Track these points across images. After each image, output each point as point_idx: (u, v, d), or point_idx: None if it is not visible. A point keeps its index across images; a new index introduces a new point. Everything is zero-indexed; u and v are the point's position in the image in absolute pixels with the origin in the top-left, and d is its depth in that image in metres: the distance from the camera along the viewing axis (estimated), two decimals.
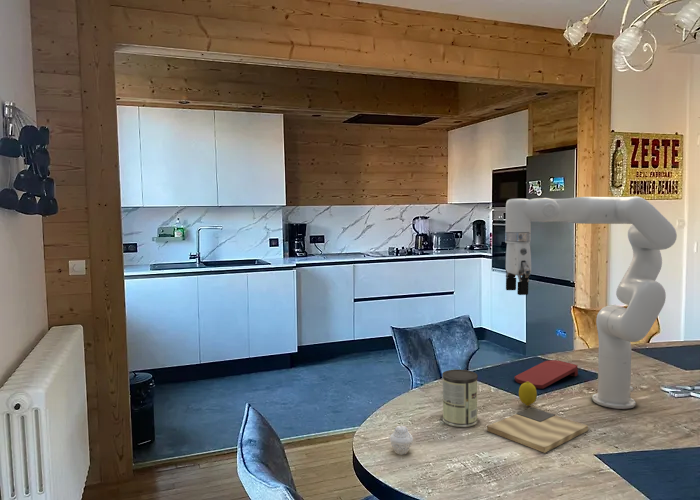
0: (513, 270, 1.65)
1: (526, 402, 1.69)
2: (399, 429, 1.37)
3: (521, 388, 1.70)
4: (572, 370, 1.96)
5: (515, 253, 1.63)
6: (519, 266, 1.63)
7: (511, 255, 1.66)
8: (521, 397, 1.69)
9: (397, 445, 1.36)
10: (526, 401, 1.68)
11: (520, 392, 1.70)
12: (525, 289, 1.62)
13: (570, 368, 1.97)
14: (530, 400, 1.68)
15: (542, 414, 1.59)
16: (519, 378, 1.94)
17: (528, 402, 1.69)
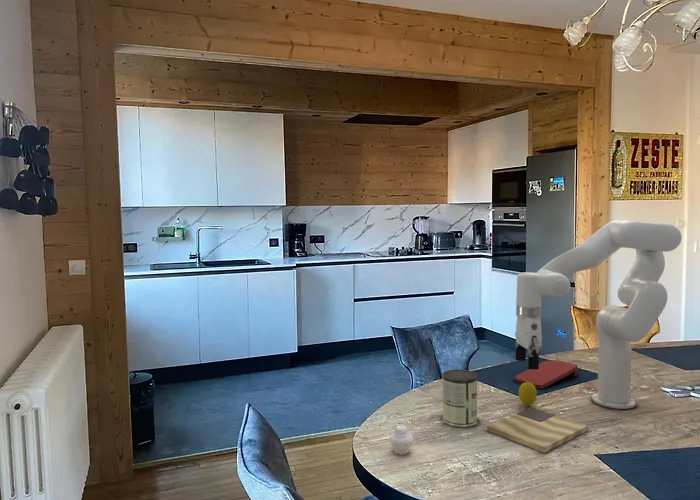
0: (523, 344, 1.67)
1: (526, 402, 1.69)
2: (399, 429, 1.37)
3: (521, 388, 1.70)
4: (572, 370, 1.96)
5: (526, 327, 1.65)
6: (530, 341, 1.64)
7: (522, 329, 1.68)
8: (521, 397, 1.69)
9: (397, 445, 1.36)
10: (526, 401, 1.68)
11: (520, 392, 1.70)
12: (535, 364, 1.64)
13: (570, 368, 1.97)
14: (530, 400, 1.68)
15: (542, 414, 1.59)
16: (519, 378, 1.94)
17: (528, 402, 1.69)
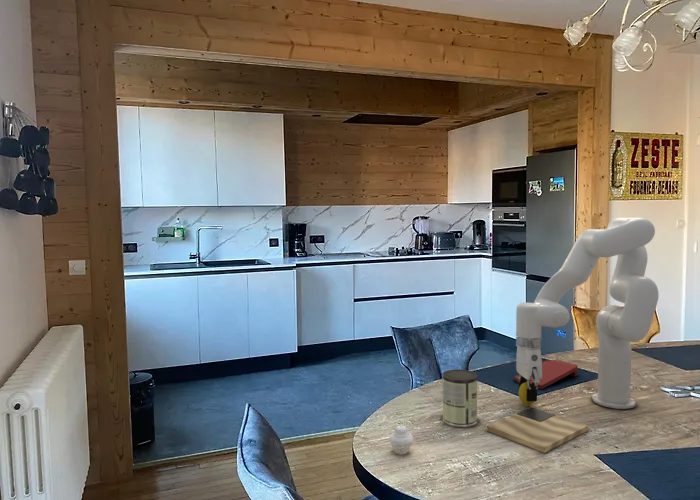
0: (524, 375, 1.68)
1: (526, 402, 1.69)
2: (399, 429, 1.37)
3: (521, 388, 1.70)
4: (572, 370, 1.96)
5: (526, 359, 1.66)
6: (530, 372, 1.65)
7: (522, 359, 1.68)
8: (521, 397, 1.69)
9: (397, 445, 1.36)
10: (526, 401, 1.68)
11: (520, 392, 1.70)
12: (534, 396, 1.66)
13: (570, 368, 1.97)
14: None
15: (542, 414, 1.59)
16: None
17: (528, 402, 1.69)
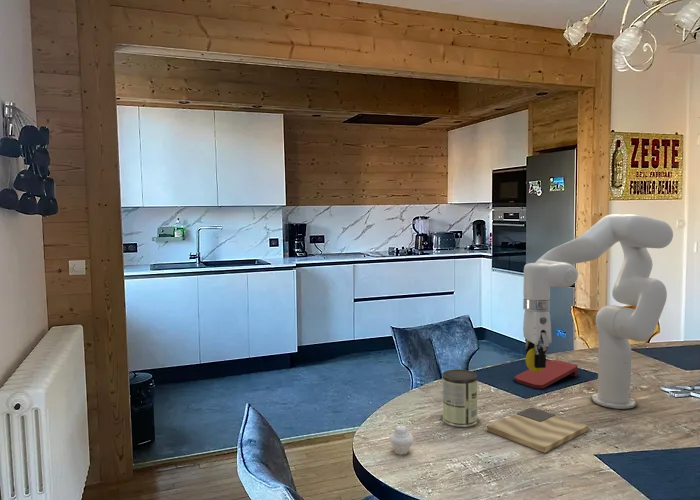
0: (532, 340, 1.57)
1: (534, 369, 1.58)
2: (399, 429, 1.37)
3: (528, 354, 1.59)
4: (572, 370, 1.96)
5: (534, 321, 1.55)
6: (538, 336, 1.54)
7: (530, 323, 1.57)
8: (528, 364, 1.59)
9: (397, 445, 1.36)
10: (534, 367, 1.58)
11: (527, 358, 1.59)
12: (542, 362, 1.56)
13: (570, 368, 1.97)
14: None
15: (542, 414, 1.59)
16: (519, 378, 1.94)
17: (536, 369, 1.58)
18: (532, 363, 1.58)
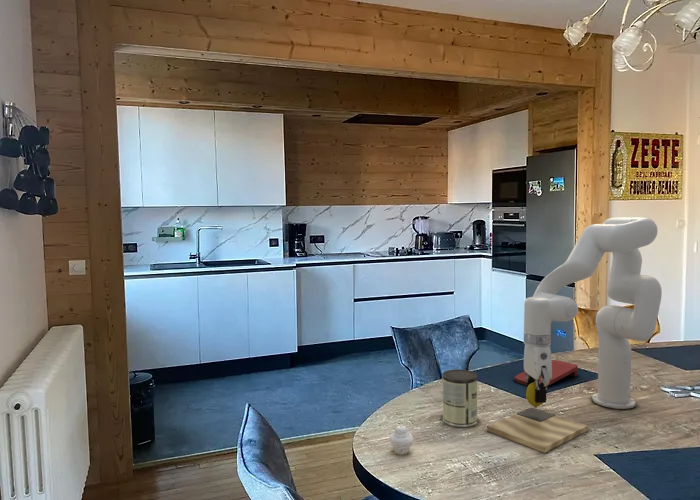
0: (532, 374, 1.56)
1: (534, 403, 1.57)
2: (399, 429, 1.37)
3: (529, 388, 1.58)
4: (572, 370, 1.96)
5: (535, 357, 1.54)
6: (539, 371, 1.53)
7: (530, 358, 1.57)
8: (529, 398, 1.58)
9: (397, 445, 1.36)
10: (534, 402, 1.57)
11: (528, 393, 1.58)
12: (543, 397, 1.55)
13: (570, 368, 1.97)
14: None
15: (542, 414, 1.59)
16: (519, 378, 1.94)
17: (536, 403, 1.57)
18: (532, 398, 1.57)
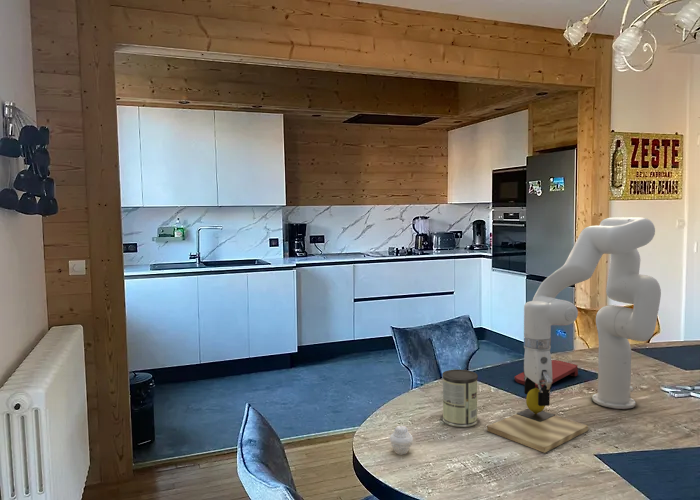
0: (533, 379, 1.56)
1: (534, 410, 1.57)
2: (399, 429, 1.37)
3: (529, 395, 1.58)
4: (572, 370, 1.96)
5: (535, 361, 1.54)
6: (539, 376, 1.54)
7: (530, 362, 1.57)
8: (529, 405, 1.58)
9: (397, 445, 1.36)
10: (534, 409, 1.57)
11: (528, 399, 1.58)
12: (546, 400, 1.53)
13: (570, 368, 1.97)
14: (539, 408, 1.57)
15: (542, 414, 1.59)
16: (519, 378, 1.94)
17: (536, 410, 1.57)
18: (533, 404, 1.57)
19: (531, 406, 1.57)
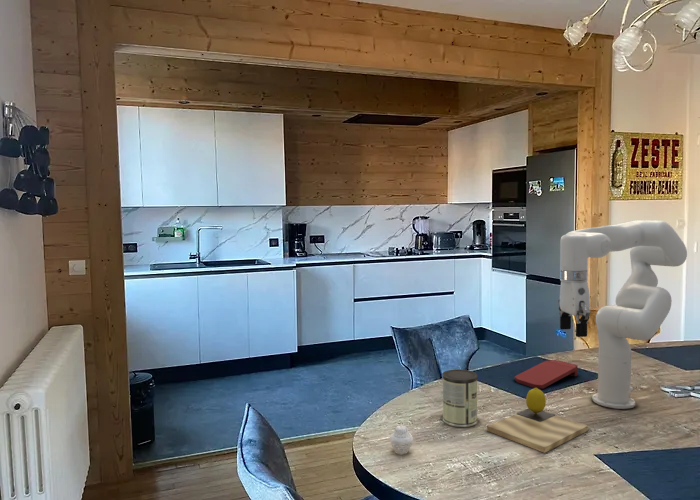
0: (570, 311, 1.56)
1: (534, 410, 1.57)
2: (399, 429, 1.37)
3: (529, 395, 1.58)
4: (572, 370, 1.96)
5: (573, 292, 1.54)
6: (577, 307, 1.54)
7: (567, 294, 1.57)
8: (529, 405, 1.58)
9: (397, 445, 1.36)
10: (534, 409, 1.57)
11: (528, 399, 1.58)
12: (584, 331, 1.54)
13: (570, 368, 1.97)
14: (539, 408, 1.57)
15: (542, 414, 1.59)
16: (519, 378, 1.94)
17: (536, 410, 1.57)
18: (533, 404, 1.57)
19: (531, 406, 1.57)
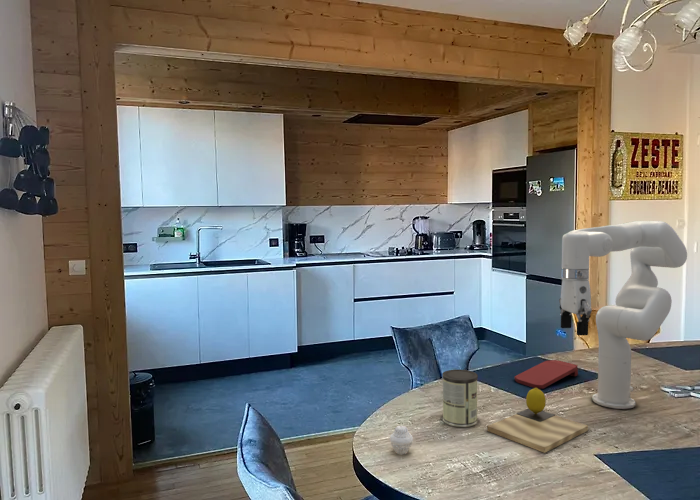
0: (571, 309, 1.56)
1: (534, 410, 1.57)
2: (399, 429, 1.37)
3: (529, 395, 1.58)
4: (572, 370, 1.96)
5: (574, 291, 1.54)
6: (578, 305, 1.54)
7: (569, 293, 1.57)
8: (529, 405, 1.58)
9: (397, 445, 1.36)
10: (534, 409, 1.57)
11: (528, 399, 1.58)
12: (585, 329, 1.53)
13: (570, 368, 1.97)
14: (539, 408, 1.57)
15: (542, 414, 1.59)
16: (519, 378, 1.94)
17: (536, 410, 1.57)
18: (533, 404, 1.57)
19: (531, 406, 1.57)
